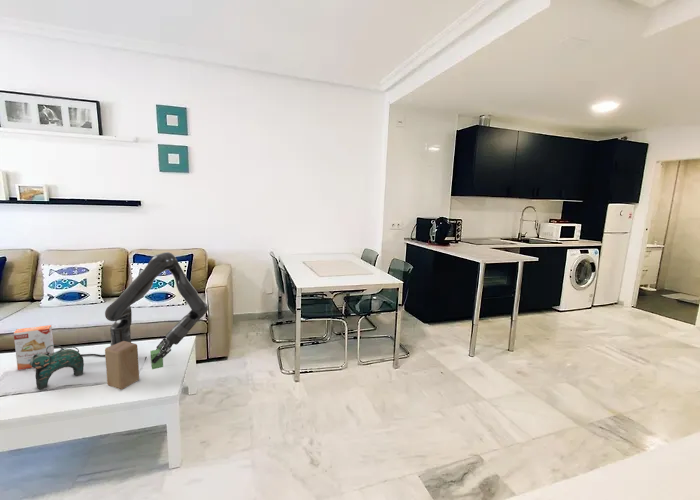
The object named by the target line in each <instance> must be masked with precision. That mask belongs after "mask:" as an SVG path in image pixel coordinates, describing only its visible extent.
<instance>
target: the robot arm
mask: <svg viewBox="0 0 700 500" xmlns="http://www.w3.org/2000/svg"><path fill="white" fill-rule="evenodd" d="M165 271H169V272H170V274H171V275H172V277H173V278H174V282H175V285H176V289H177V291H178V292H179V294H180V295H181V297H182V298H183V299H184V300H185V301H186V303H187V304H188V307H190V309H191V310H189V312H188V313H187V314H186V315H184V316H183V317H182V318H181V319H180V320H179V321H178V322H177V323H176V324H175V325H174V326H173V327H172V328H171V329H170V330H169V331H168V332H167V333H166V334H165V337H164V338H162V340H161V341H160V342H159V343H158V344H157V346H156V349H155V350H157V349H160V350H159V351H160V352H159V353H158V354H157V355H156V356H155V358H154V359H153V360H152V363H154V364H155V363H156V362H157V361H158V360H159V359H160V358H163V359H164V358H165V357H166V356H167V355H168V354H169V353H170V352H172V347H173V345H179V343H180V342H181V341H182V340H183V339H184V338H185V337H186V336H187V335H188V333H189V332H190V331H191V330H192V329H193V327H194V326H195V325H196V324H197V323H198V322H199V321H200V320H201V319H202V318H203V317H204V316H205V315H206V314H207V313H208V312H209V304H208V303H207V302H205V301H204V300H203V299H202V298H201V297H200V295H199V293H198V291H197V290H196V288H195V287H194V286H193V285H192V284H191V282H190V281H189V279H188V277H187V276H186V274H185V272H184V270H183V269H182V266H181V265H180V263H179V261H178V259H177V258H176V256H175V255H174V254H173V253H172V252H169V251H166V252H162V253H158V254H156V255H154V256H153V257H151V259H150V260H149V262H148V263H147V265H146V266H145V267H144V269H143V270H142V271H141V272H140V273H139V274H138V275H137V276H136V277H135V278H134V279H133V281H132V282H130V284H129V285H128V286H127V288H125V290H124V291H123V292H122V293H121V294H120V295H119V297H117V299H115V300H114V301H113V302H112V303H110V305H108V306H107V308H106V309H105V311H104V316H105V319H106V320H107V321H110V322H114V323H113V324H112V325H111V326H110V328H109V331H110V346H112V345H115V344H117V343H119V342H122V341H126V342H130V343H132V334H131V333H132V331H131V325H132V319H133V318H132V317H133V314H132V313H133V311H132V305H133V304H135V303H137V302H138V301H140V300H141V299H142V298H144V297H145V296H146V295H147V293H148V292H149V291H150V290H151V289H152V287H153V285H154V280H155V279H157V277H158V276H160V275H161V274H162V273H163V272H165ZM53 345H55V346H54V347H58V348H59V349H60V350H61V349H63V350H64V347H63V346H61V344H54V343H53ZM80 355H81V356H82V357H86V356H88V357H89V356H96V357H100V358H101V357H105V354H97V353H82V354H81V353H80Z"/></svg>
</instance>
